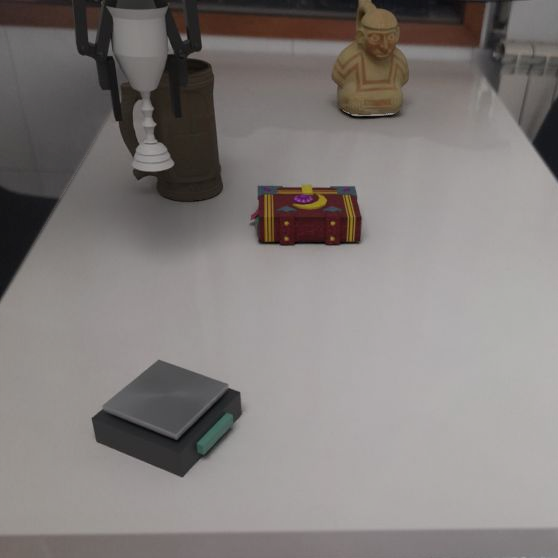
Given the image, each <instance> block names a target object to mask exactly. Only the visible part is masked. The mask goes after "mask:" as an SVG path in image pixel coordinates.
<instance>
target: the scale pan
mask: <svg viewBox="0 0 558 558" xmlns="http://www.w3.org/2000/svg"><path fill="white" fill-rule="evenodd" d="M229 388H230V387H229V384H228V383H226V382H223V381H221V380H218V379H215V378H212V377H210V376H206V375H203V374H201V373H198V372H195V371H193V370H190V369H187V368H184V367H181V366H178V365H176V364H173V363H170V362H167V361H164V360H162V359H157V360H156V361H155V362H154V363H153V364H152V365H150V366H149V367H148V368H147V369H145V370H144V371H142V372H141V373H140V374H139V375H137V377H135V378H134V379H133V380H132V381H130V382H129V383H128V384H127V385H125V386H124V387H123V388H121V390H119V391H118V392H117V393H116V394H115V395H113V396H112V397H111V398H109V400H107V401H106V402H105V403H103V404H102V406H101V407H102V409H103V411H104V412H107V413H109V414H112V415H114V416H117V417H119V418H122V419H124V420H127V421H129V422H132V423H134V424H137V425H139V426H142V427H144V428H147V429H149V430H152V431H155V432H157V433H160V434H162V435H165V436H167V437H170V438H172V439H175V440H178V439H179V438H180V437H181V436H182V435H183V434H184V433H185V432H186V431H187V430H188V429H189V428H190V427H191V426H192V425H193V424H194V423H195V422H196V421H197V420H198V419H199V418H200V417H201V416H202V415H203V414H204V413H205V412H206V411H207V410H208V409H209V408H210V407H211V406H212V405H213V404H214V403H215V402H216V401H217V400H218V399H219V398H220V397H221V396H223V395H224V394H225V393H226V392H227V391H228V389H229Z"/></svg>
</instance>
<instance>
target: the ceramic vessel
mask: <svg viewBox="0 0 558 558" xmlns="http://www.w3.org/2000/svg"><path fill="white" fill-rule="evenodd" d="M357 2H358V7H357V11H356V19H355V33H354V34H355V35H354V38H355V40H354V41H353V42H352V43H350V44H349V45H347V46H345V47H344V49H342V50H341V51H340V53H339V54H338V56H337V57H336V60H335V62H334V63H333V67H332V70H331V75H330V76H331V80H332V81H333V82H334V83H335V84H336V85H337V87H336V88H337V89H336V97H337V98H336V101H337V106H338V108H339V107H340V108H341V109H342V110H344V111H346V112H349V113H350V114H358V115H371V114H386V113H387V114H388V113H396V114H397V113H398V112H399V111H400V109H401V108H402V107H403V103H404V93H403V87H404V86H405V85H406V84H407V83H408V82H409V79H410V70H409V63H408V59H407V57H406V55H405V54H404V52H403V51H402V50H401V49H399V47H397V46H396V45H397V43H398V42H399V40H400V35H401V28H400V26H398V23H399V22H398V19H397V18H396V16H395V14H394V13H392V12H391V11H390V10H387V9H385V8H378V7H376V5H375V4H374V3H373V2H372V0H357ZM340 108H339V109H340ZM341 109H340V110H341ZM342 110H341V111H342Z"/></svg>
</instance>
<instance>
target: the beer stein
mask: <svg viewBox="0 0 558 558" xmlns="http://www.w3.org/2000/svg"><path fill="white" fill-rule="evenodd" d="M187 73H188V84H187V86H182V87H179V89H180V101H181V113H182V118H175V116H174V114H173V112H172V108H171V97H170V86H169V75H168V64H167V59H166V64H165V68H164V71H163V74H162V76H161V79H160V82H159V84H158V87H157V89H155V90H153V91H150V101H151V104H152V106H153V107H154V110H153V111H152V118H153V121H154V122H155V123H156V126H155V127H154V137H155V139H156V140H157V142H160V143H162V144H163V145H164V146H165V147H166V148H167V151H168V153H169V154H170V158H171V159H172V160H173V162H174V165H173V166H172V167H171V168H169V169H166V170H162V171H141V170H138V169H135V168H134V167H133V169H132V175H133V176H134V178H135V180H137V181H140V180H142V179H143V178H145V177H148V176H150V177H151V176H152V177H155V178H156V190H157V192H158V193H159V195H161V196H162V197H163V198H167V199H169V200H173V201H178V202H195V201H196V200H199V201H203V200H202V199H204V200H207V199H206V198H209V197H211V198H213V197H215V196H214V195H216V194H217V195H218V193H219V192H220V191H221V192H222V190H223V189H222V187H223V188H224V182H223V179H222V175H221V172H222V165H221V164H220V154H219V142H218V132H217V122H216V111H215V100H214V99H215V98H214V88H215V74H214V72H213V66H212V64H211V63H210V62H208V61H206V60H203V59H198V58H190V57H187ZM119 87H120V105H121V112H122V120H123V121H118V128H119V131H120V136H121V138H122V140H123V143H124V145H125V146H126V148H127V150H128V151H129V153H130V154H131V156H132V158H133V159H134V155H135V153H136V148H137V147H138V146H139V144H140V143H139V140H138V137H137V133H136V128H135V125H134V107H135V105H136V104H137V102H138V101H142V97H141V94H140V91H137V90H135V89H133V88H132V87H131V85H130V83H129V82H128V81H126V82H122V83H121V84H120V85H119ZM221 192H220V193H221ZM220 193H219V194H220ZM217 195H216V196H217ZM212 196H213V197H212ZM209 199H210V198H209ZM194 200H195V201H194ZM196 202H197V201H196Z"/></svg>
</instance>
